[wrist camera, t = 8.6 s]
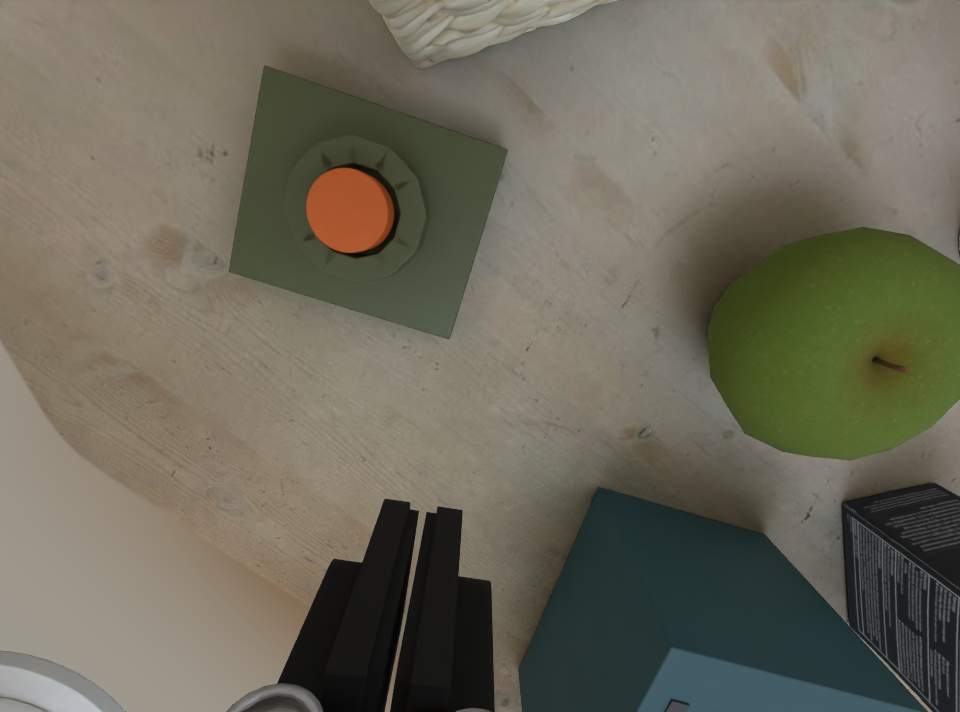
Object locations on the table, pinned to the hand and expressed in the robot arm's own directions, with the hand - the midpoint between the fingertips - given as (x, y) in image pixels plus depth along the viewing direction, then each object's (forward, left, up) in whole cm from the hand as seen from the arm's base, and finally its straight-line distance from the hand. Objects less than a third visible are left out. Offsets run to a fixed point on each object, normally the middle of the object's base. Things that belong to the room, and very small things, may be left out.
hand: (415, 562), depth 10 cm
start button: (-7, +6, -15) cm, 17 cm away
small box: (+32, -5, -19) cm, 38 cm away
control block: (-7, +6, -19) cm, 20 cm away
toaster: (+17, -14, -19) cm, 29 cm away
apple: (+16, +7, -19) cm, 26 cm away
